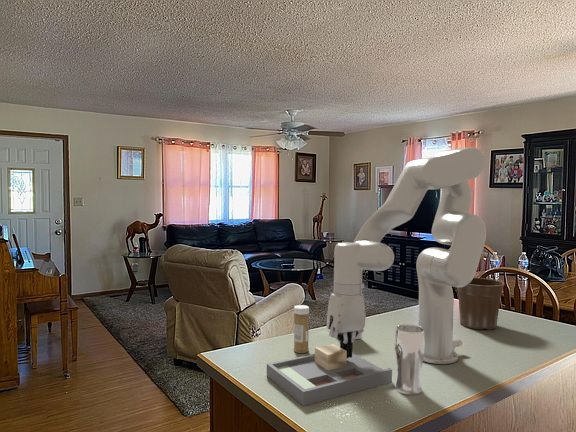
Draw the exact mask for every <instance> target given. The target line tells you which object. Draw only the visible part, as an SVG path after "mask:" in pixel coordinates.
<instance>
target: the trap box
mask: <svg viewBox="0 0 576 432" xmlns="http://www.w3.org/2000/svg"><path fill="white" fill-rule="evenodd" d="M266 377H268V378H269V379H270V380H271V381H272V382H274V383H275V384H276V385H277V386H278V387H279V388H280V389H282V390H283V391H284V392H286V393H287V394H288V395H289V396H291V398H293V399H294V400H295V401H296V402H298V403H299V404H300V405H301V406H303V407H305V406H309V405H313V404H316V403H320V402H323V401H328V400H331V399H334V398H338V397H342V396H346V395H350V394H352V393H357V392H360V391H363V390H368V389H370V388H374V387H375V388H376V387H378V386H384V385H386V384H390V383H393V369H392V368H390V367H388V368H384V369H383V368H381V367H379V366H377V365H375V364H373V363H371V362H370V361H367V360H365V359H364V358H362V357H360V356H358V355H356V354H354V352H352V357H351V358H347V366H344V367H340V368H336V369H331V370H326V369H325V368H323V367H321V366H320V365H318V364H317V363H315V353H312V354H307V355H302V356H298V357H293V358H289V359H288V358H287V359H283V360H279V361H274V362H273V361H272V362H269V363H266Z"/></svg>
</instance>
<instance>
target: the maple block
mask: <svg viewBox="0 0 576 432" xmlns="http://www.w3.org/2000/svg"><path fill="white" fill-rule="evenodd" d="M314 354H315V363H317V364H318V365H320V366H321V367H323V368H325V369H326V370H331V369H336V368H340V367H344V366H347V351H346V350H344V349H342V348H340V346H339V345H336V344H334V343H332V344H326V345H321V346H316V347H314Z"/></svg>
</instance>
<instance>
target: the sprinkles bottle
mask: <svg viewBox="0 0 576 432" xmlns="http://www.w3.org/2000/svg"><path fill="white" fill-rule="evenodd" d="M293 313H294V314H293V315H294V316H293V317H294V319H293V344H294V345H293V347H294V348H293V351H294V352H295V353H296V354H306V353H308V352H309V349H310V348H309V340H310V339H309V334H310V333H309V330H310V329H309V328H310V327H309V315H310V306H308V305H305V304H299V305H294V307H293Z"/></svg>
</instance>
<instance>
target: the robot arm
mask: <svg viewBox="0 0 576 432" xmlns="http://www.w3.org/2000/svg"><path fill="white" fill-rule="evenodd" d="M486 164H487V159H486V156H485V153H483V152H482V151H481V150H480V149H478V148H477V147H472V146H469V147H468V146H467V147H462V148H461V147H459V148H453V149H451V148H450V149H446V150H441V151H439V152H437V153H436V154H435V155H434V156H433V157H426V158H424V157H423V158H418V159H414V160H411V161H409V162H407V163H406V164H405V166H404V167H403V169H402V171H401V172H400V175H399V176H398V178H397V179H396V182H395V183H394V185H393V187H392V190H390V192H389V194H388V196H387V198H386V200H385V201H384V203H383V204H382V205H381V206H380V207H379V208H378V209H377V210H376V211H375V212H374V213H373V214H372V215H371V216H370V217H369V218H368V219H367V220H366V221H365V223H364V224H363V225H362V226H361V228H360V230H359V232H358V233H357V234H356V237H355V238H354V240H353V242H347V241H346V242H338V243H337V244H335V247H334V253H333V254H334V257H333V259H334V260H333V262H334V263H333V266H334V267H333V292H332V293H330V296H329V300H328V306H327V314H326V328H327V329H328V330H329V334H328V336H329V337H331V338H333V339H337V340H338V341H339V347H340V348H342V349H344V350H346V351H347V358H351V357H352V353H353V349H354V348H353V347H354V346H353V345H354V344H353V343H355V341H356V339H355V338H356V336H357V335H358V334H360V333H362V334H363V333H364V330H365V326H366V319H367V318H366V303H365V302H366V301H365V296H364V293H363V289H365V283H364V282H363V270H366V271H376V272H382V271H386V270H387V269H389V268H390V267H392V265H393V264H394V261H395V253H394V251H393V249H392V248H391V246H389V245H387V244H386V243H382V242H381V241H382V239H383V238H384V237H385V236H386V235H387V234H388V233H389V232H390V231H392V230H393V229H395V228H396V227H399V226H401V225H403V224H405V223H407V222H408V221H410V220H411V219H413V217H414V216H415V214H416V212H417V210H418V208H419V206H420V205H421V202H422V201H423V199H424V197H425V195H426V193H427V192H428V190H441V191H440V192H441V194H440V200H439V203H438V206H437V210H436V213H435V216H434V220H433V223H432V227H431V237H432V238H433V240H435V241H436V242H437V243H439V244H442V245H446V246H450V249H448V248H447V249H446V248H443V247H428V248H425V249H423V250H422V251H421V252H420V253H419V254H418V256H417V259H416V268H415V269H416V272H417V273H416V275H417V280H418V316H417V317H418V319H417V321H418V322H417V323H418V324H417V326H420V327H422V328H423V329H424V336H425V352H424V359H423V363H424V362H426V363H429V364H435V365H449V364H453V363H456V362H457V361H458V360H459V354H458V353H457V352H456V351H455V349H456V348H458V347H459V348H460V347H462V346H463V341H462V340H461V339H455V340H454V337H453V336H454V332H453V331H454V305H455V303H454V302H455V300H454V299H455V298H454V297H455V296H454V292H453V288H457V287H464V286H466V285H468V284H469V283H470V282H471V281H472V279H473V278H475V276H476V273H477V270H478V268H479V267H478V266H479V263H480V260H481V257H482V253H483V251H484V248H485V243H486V239H487V226H486V224H485V221H484V220H483V219H482V218H481V217H480V216H478V215H477V214H474V213H470V210H471V206H472V202H473V192H472V187H471V185H470V183H469V181H470V180H474V179H476V178H478V177H479V176H480V175H481V174H482V173H484V170H485V168H486ZM452 287H453V288H452Z"/></svg>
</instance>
